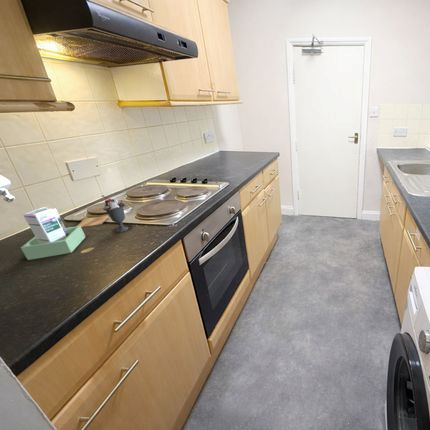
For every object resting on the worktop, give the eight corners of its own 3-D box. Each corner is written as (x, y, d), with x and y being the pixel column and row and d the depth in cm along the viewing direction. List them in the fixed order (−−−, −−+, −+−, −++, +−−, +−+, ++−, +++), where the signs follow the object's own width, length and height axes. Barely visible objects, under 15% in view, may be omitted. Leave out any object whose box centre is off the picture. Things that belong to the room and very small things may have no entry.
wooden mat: (75, 228, 105) (74, 227, 105) (84, 219, 112) (84, 218, 112) (102, 224, 108) (101, 224, 107) (109, 216, 115) (109, 215, 115)
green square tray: (28, 261, 85) (20, 247, 83) (47, 243, 94) (40, 231, 92) (71, 253, 88) (65, 240, 86) (86, 237, 98) (80, 225, 96)
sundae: (108, 233, 101) (93, 196, 95) (125, 225, 107) (111, 190, 100) (120, 235, 99) (105, 198, 93) (137, 227, 105) (124, 192, 98)
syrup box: (56, 254, 88) (35, 214, 82) (43, 252, 89) (21, 213, 83) (74, 245, 93) (56, 207, 87) (61, 243, 94) (42, 206, 88)
